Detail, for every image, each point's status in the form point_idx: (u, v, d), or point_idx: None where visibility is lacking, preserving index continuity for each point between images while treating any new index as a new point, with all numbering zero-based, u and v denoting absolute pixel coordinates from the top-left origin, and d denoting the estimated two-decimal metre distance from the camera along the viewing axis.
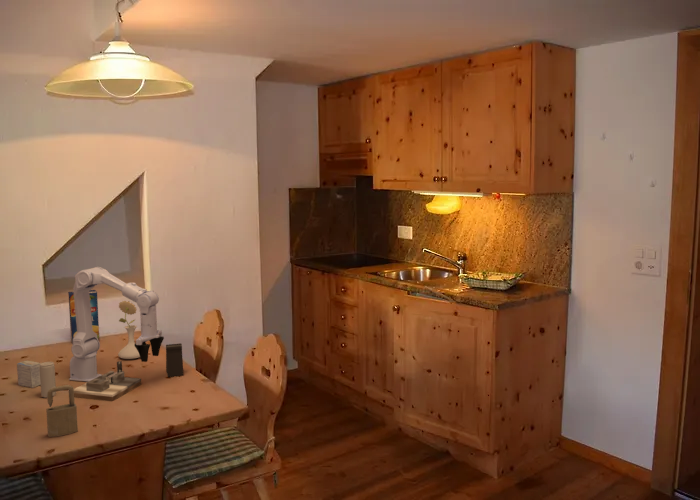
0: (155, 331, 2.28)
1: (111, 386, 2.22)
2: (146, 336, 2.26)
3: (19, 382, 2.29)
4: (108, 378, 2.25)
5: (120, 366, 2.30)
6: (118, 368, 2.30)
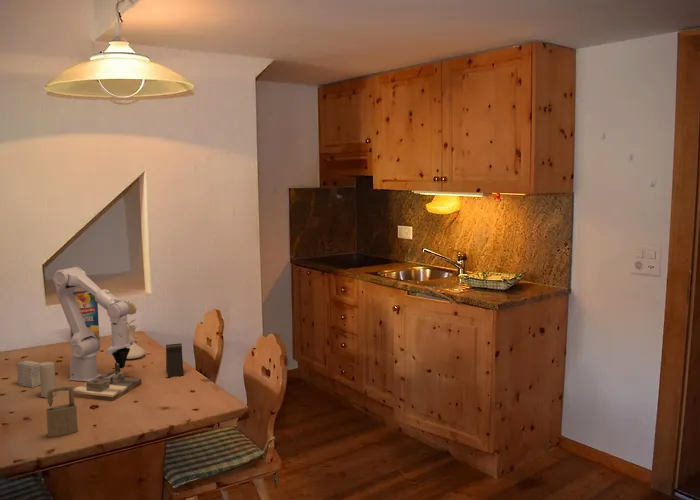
0: (126, 340, 2.30)
1: (111, 386, 2.22)
2: (117, 345, 2.28)
3: (19, 382, 2.29)
4: (106, 379, 2.23)
5: (118, 367, 2.29)
6: (116, 369, 2.29)
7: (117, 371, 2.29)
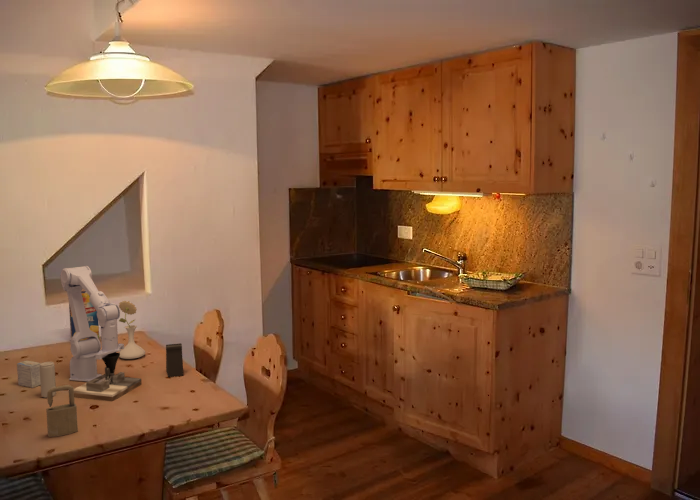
0: (116, 345, 2.24)
1: (111, 386, 2.22)
2: (106, 350, 2.22)
3: (19, 382, 2.29)
4: None
5: (108, 372, 2.23)
6: (106, 374, 2.23)
7: (107, 376, 2.23)
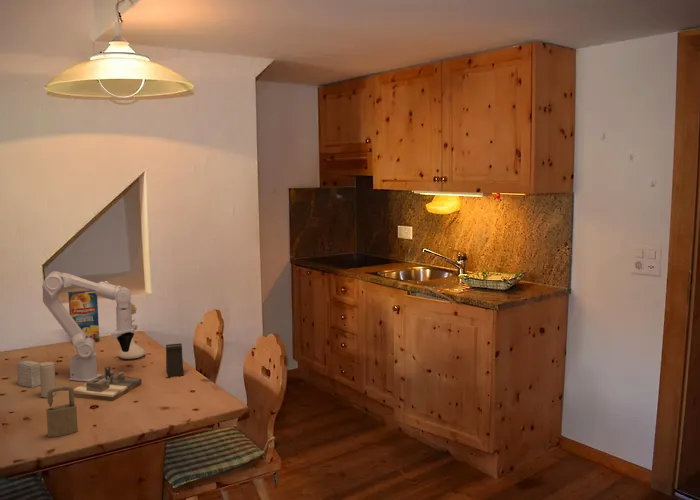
0: (130, 325, 2.39)
1: (111, 386, 2.22)
2: (121, 330, 2.37)
3: (19, 382, 2.29)
4: None
5: (108, 372, 2.23)
6: (106, 374, 2.23)
7: (107, 376, 2.23)
